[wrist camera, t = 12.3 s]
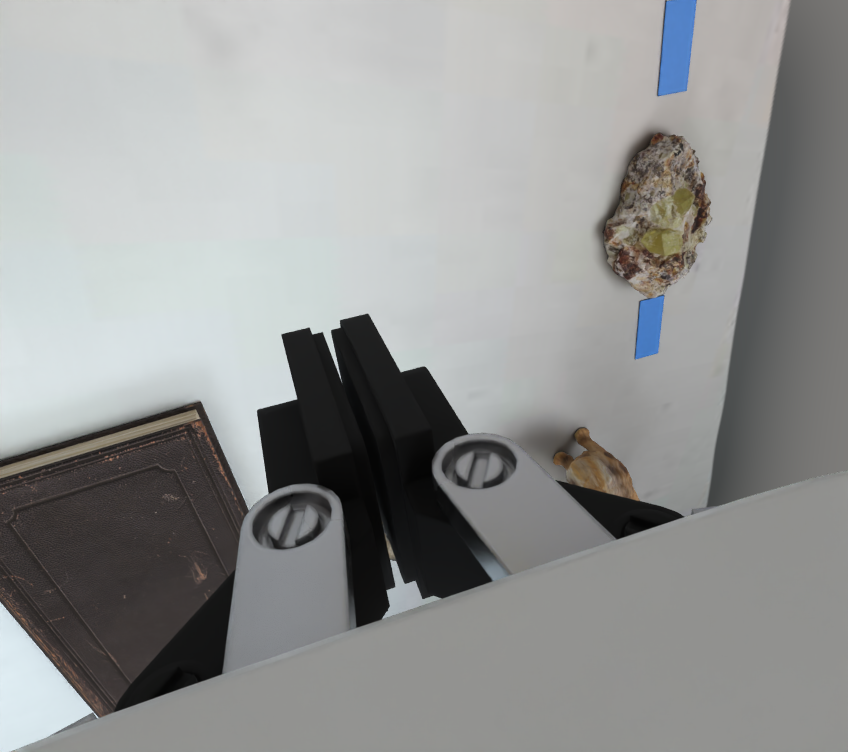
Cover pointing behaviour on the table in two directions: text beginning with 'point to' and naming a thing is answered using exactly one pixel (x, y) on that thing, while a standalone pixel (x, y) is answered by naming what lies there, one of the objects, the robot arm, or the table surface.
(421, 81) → the table surface
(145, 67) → the table surface
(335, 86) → the table surface
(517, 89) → the table surface
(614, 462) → the lion figurine
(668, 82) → the tape marks
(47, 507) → the hardcover book
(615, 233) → the mineral rock
